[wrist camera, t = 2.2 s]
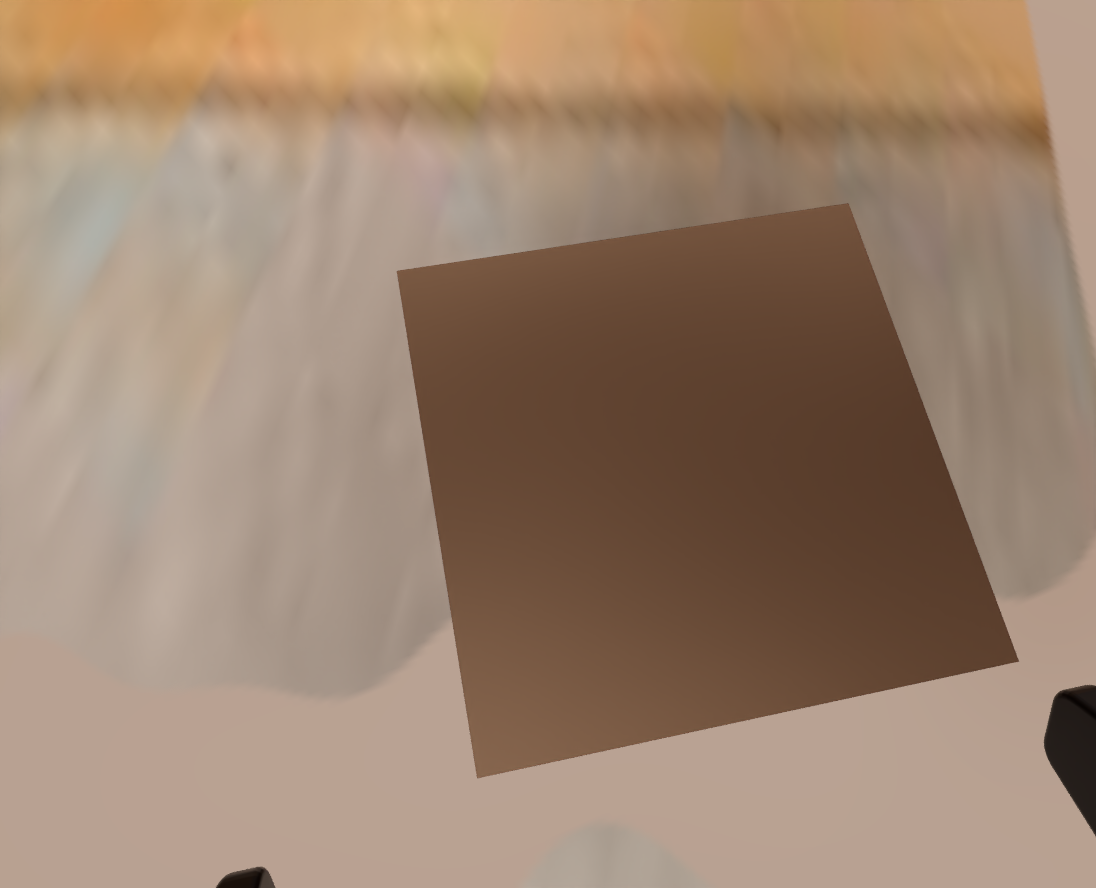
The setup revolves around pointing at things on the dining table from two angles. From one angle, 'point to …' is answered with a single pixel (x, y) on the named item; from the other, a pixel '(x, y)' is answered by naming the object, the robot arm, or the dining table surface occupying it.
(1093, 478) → the dining table surface
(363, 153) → the dining table surface
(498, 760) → the walnut baton
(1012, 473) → the dining table surface
